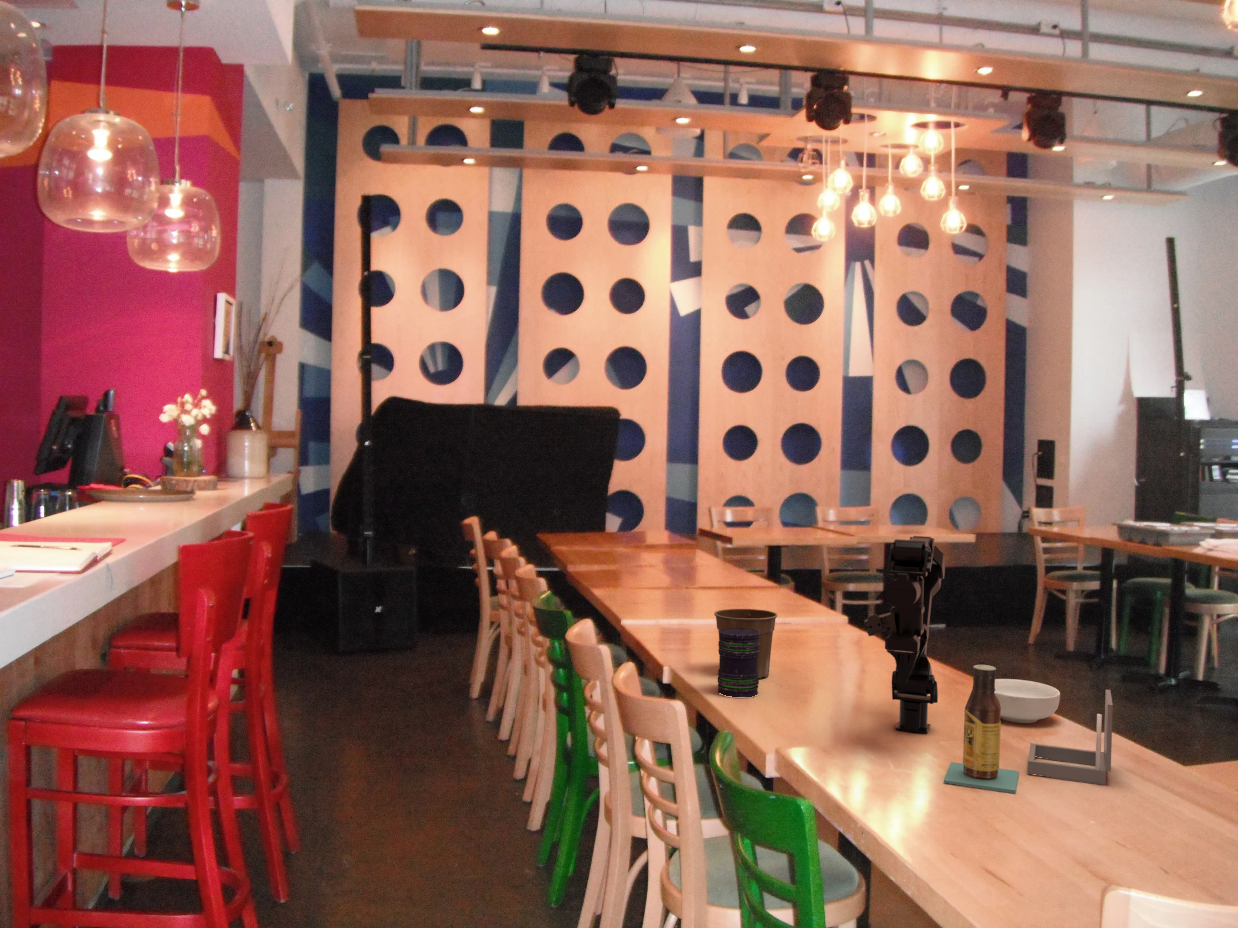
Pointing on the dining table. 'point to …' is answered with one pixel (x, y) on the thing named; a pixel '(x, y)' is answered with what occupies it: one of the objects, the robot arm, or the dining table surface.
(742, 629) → the storage jar
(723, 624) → the plant pot
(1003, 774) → the rubber pad
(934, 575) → the robot arm
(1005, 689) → the cereal bowl
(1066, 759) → the open lid tray
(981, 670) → the sauce bottle
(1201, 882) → the dining table surface
